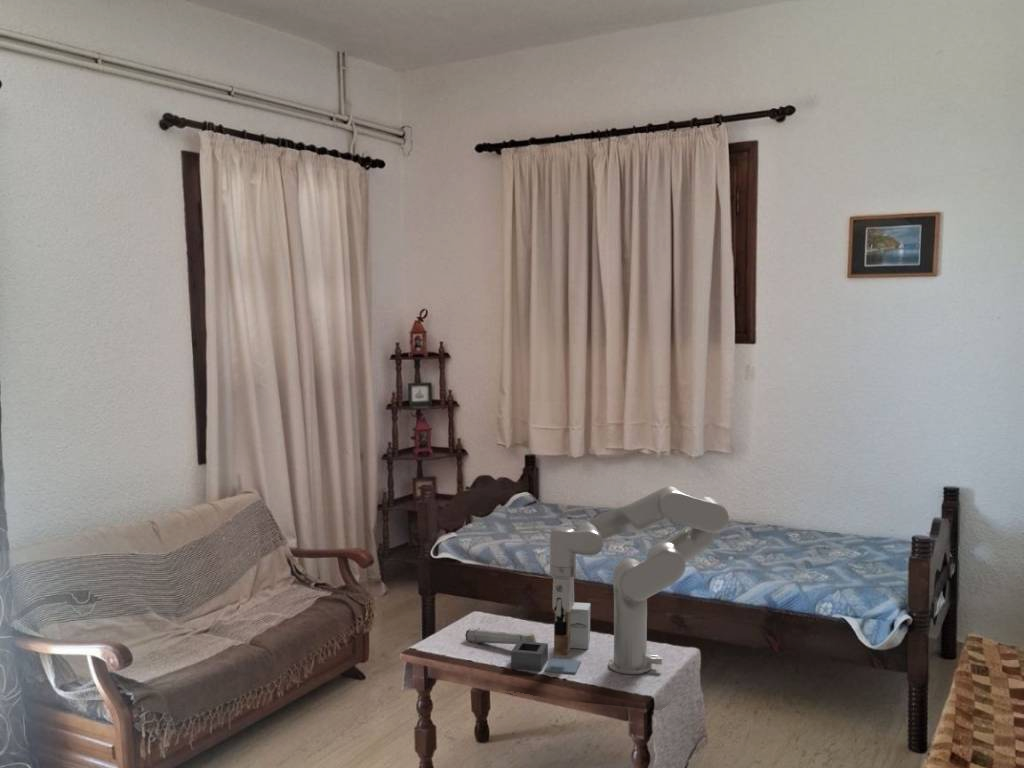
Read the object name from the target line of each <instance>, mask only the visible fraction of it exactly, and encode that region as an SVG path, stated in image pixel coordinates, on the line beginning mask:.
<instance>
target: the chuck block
mask: <svg viewBox="0 0 1024 768" xmlns="http://www.w3.org/2000/svg"><path fill="white" fill-rule="evenodd" d="M537 642H538V641H536V642H526V641H518V642H517V644H514V647H512V649H511V651H510V669H513V670H514V669H515V670H516V669H517V670H527V671H536V672H542V671H543V669H544V667H546V666H545V665H546V664H547V662H548V661H549V660H548V659H549V653H548V652H549V651H548V650H549V645H548V644H549V643H548V642H547V643H546V642H539V643H537Z"/></svg>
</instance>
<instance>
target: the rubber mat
mask: <svg viewBox="0 0 1024 768" xmlns="http://www.w3.org/2000/svg"><path fill="white" fill-rule="evenodd" d="M546 664H547V665H546V666H545V668H544V672H548V673H557V674H565V675H566V674H568V675H576V674H577V672H578V670H579V668H580V666H581V664H582V660H575V659H566V658H554V657H552V658H551V657H550V659H549V660H548V663H546Z"/></svg>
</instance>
